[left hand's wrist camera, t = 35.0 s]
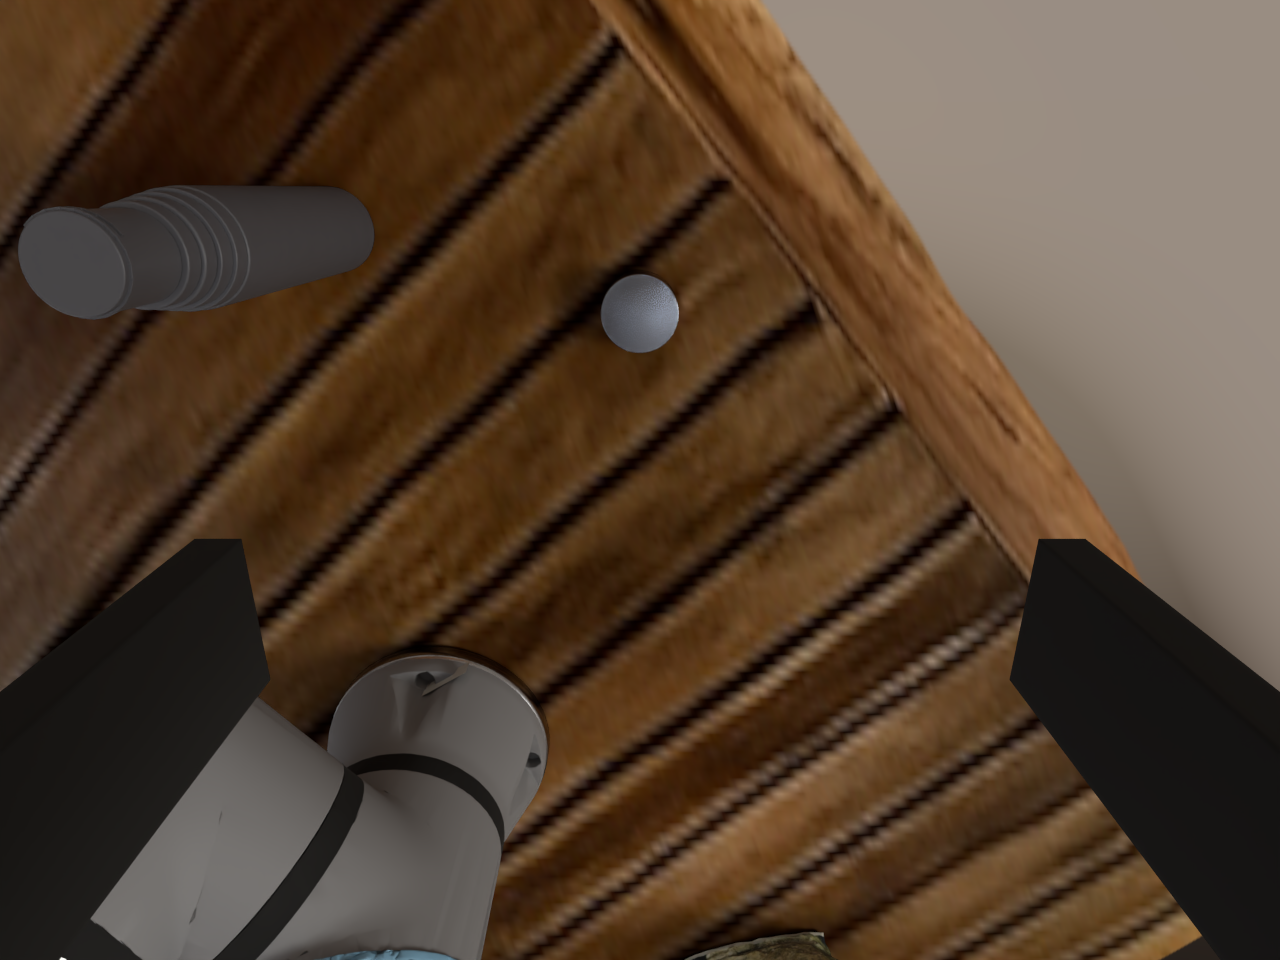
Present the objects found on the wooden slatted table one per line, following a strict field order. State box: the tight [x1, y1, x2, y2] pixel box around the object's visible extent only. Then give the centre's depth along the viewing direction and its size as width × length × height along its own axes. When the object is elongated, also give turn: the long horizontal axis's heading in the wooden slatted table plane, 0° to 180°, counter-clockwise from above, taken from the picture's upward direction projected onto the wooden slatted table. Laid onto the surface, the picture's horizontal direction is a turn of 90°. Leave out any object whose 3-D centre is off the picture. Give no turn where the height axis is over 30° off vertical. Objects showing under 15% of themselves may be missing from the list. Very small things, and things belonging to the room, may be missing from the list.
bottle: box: [18, 185, 374, 320], centre depth 33 cm, size 5×5×21 cm
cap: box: [601, 270, 679, 353], centre depth 43 cm, size 4×4×2 cm
